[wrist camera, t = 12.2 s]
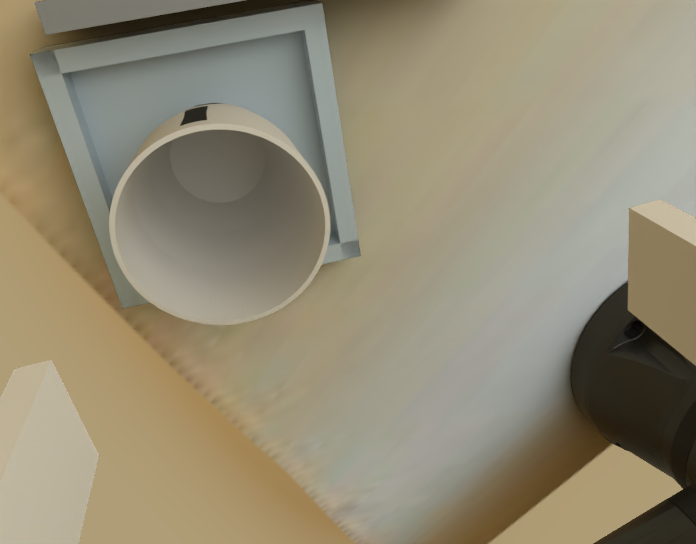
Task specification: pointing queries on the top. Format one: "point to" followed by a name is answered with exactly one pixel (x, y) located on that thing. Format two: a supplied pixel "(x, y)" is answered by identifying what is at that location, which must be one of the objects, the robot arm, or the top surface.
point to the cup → (219, 217)
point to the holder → (109, 11)
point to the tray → (197, 103)
